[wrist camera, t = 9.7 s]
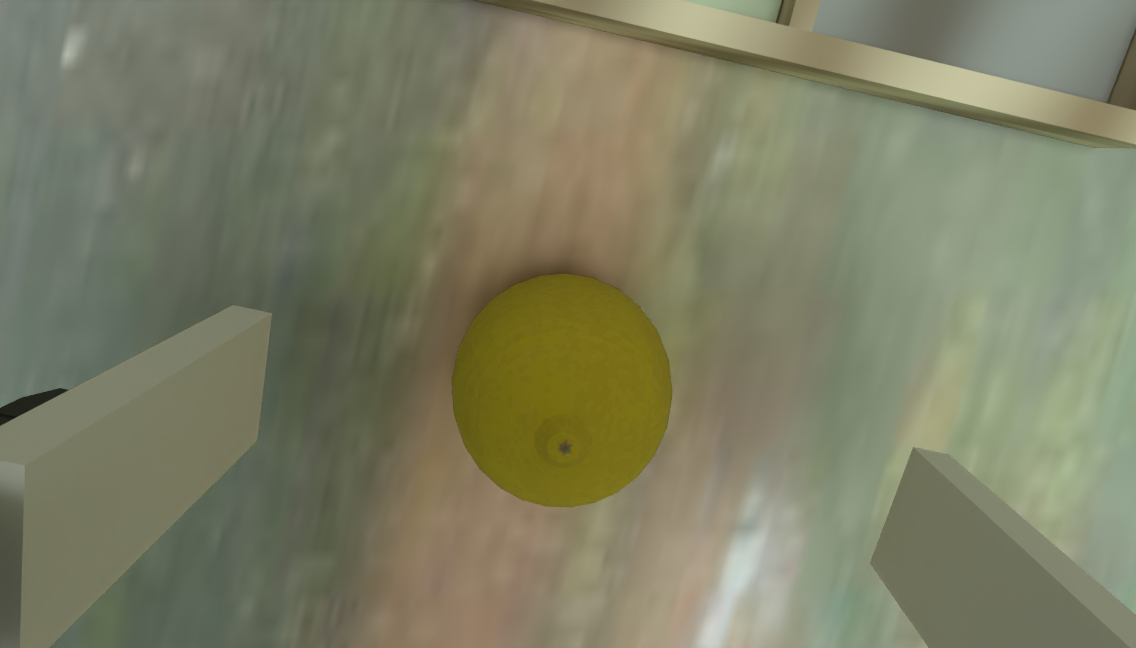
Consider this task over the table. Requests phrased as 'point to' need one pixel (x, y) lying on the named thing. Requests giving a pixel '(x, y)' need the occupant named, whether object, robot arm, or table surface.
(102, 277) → the table surface
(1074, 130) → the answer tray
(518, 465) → the lemon
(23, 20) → the table surface
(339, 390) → the table surface
